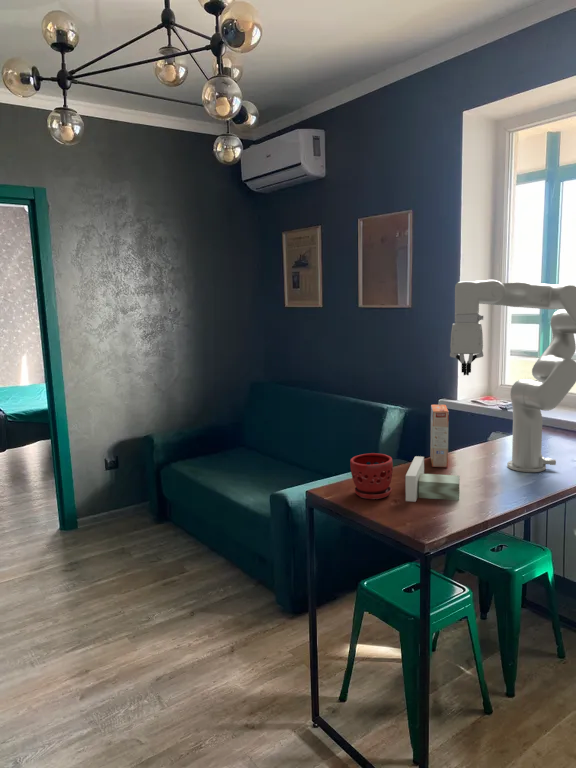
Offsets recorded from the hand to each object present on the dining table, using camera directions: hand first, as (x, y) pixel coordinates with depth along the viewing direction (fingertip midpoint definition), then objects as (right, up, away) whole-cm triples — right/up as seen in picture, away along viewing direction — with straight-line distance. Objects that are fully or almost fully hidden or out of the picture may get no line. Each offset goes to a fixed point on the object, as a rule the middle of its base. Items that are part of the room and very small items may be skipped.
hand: (466, 374), depth 190 cm
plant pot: (-33, -38, -10) cm, 52 cm away
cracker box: (-3, -33, +22) cm, 40 cm away
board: (-19, -37, -7) cm, 42 cm away
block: (-12, -38, -12) cm, 42 cm away
